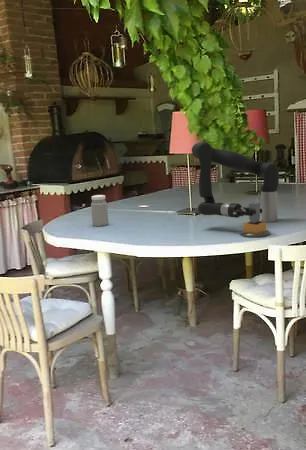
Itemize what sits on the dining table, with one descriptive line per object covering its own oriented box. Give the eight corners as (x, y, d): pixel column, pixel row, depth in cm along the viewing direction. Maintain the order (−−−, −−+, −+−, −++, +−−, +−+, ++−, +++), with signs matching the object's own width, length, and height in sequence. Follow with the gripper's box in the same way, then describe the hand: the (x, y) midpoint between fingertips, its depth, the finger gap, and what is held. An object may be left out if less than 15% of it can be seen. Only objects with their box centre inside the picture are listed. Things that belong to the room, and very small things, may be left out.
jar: (98, 223, 331) (96, 194, 327) (111, 223, 326) (109, 194, 323) (89, 226, 322) (87, 197, 319) (103, 226, 318) (100, 197, 314)
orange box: (234, 235, 274) (234, 223, 273) (250, 230, 285) (250, 218, 284) (259, 238, 264) (259, 226, 263) (275, 233, 274) (275, 221, 273)
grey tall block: (249, 232, 274) (248, 203, 271) (253, 230, 277) (253, 202, 274) (256, 233, 271) (255, 204, 268) (260, 231, 274) (259, 203, 271)
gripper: (223, 205, 276) (249, 207, 265) (238, 201, 286) (264, 203, 275) (223, 219, 278) (249, 222, 267) (239, 214, 288) (265, 217, 277)
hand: (257, 212), depth 271 cm, fingers open, 8 cm apart
